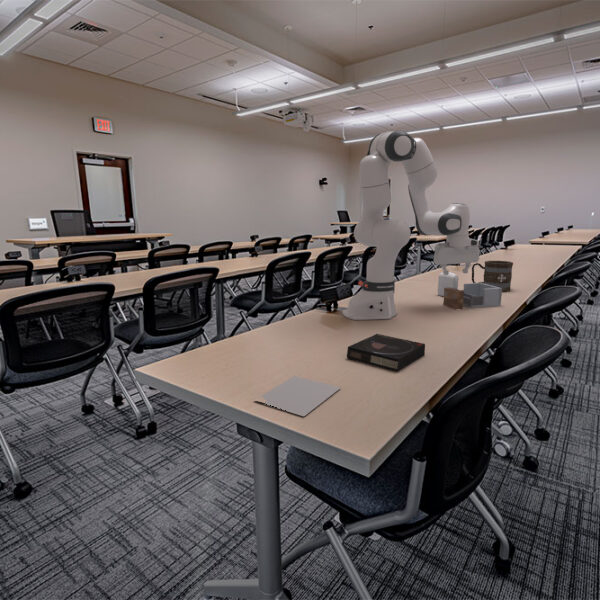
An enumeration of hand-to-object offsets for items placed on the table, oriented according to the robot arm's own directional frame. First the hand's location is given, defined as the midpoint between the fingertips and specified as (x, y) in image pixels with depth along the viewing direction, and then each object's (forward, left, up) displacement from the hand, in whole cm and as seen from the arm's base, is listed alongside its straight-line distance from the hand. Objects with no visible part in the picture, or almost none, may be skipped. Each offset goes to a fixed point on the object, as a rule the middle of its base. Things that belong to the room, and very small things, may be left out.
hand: (455, 273), depth 176 cm
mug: (+41, +29, -15) cm, 52 cm away
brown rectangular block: (0, 0, -15) cm, 15 cm away
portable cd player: (-55, -50, -16) cm, 76 cm away
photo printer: (+10, +20, -15) cm, 27 cm away
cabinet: (+13, +3, -15) cm, 20 cm away
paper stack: (-86, -62, -15) cm, 107 cm away
